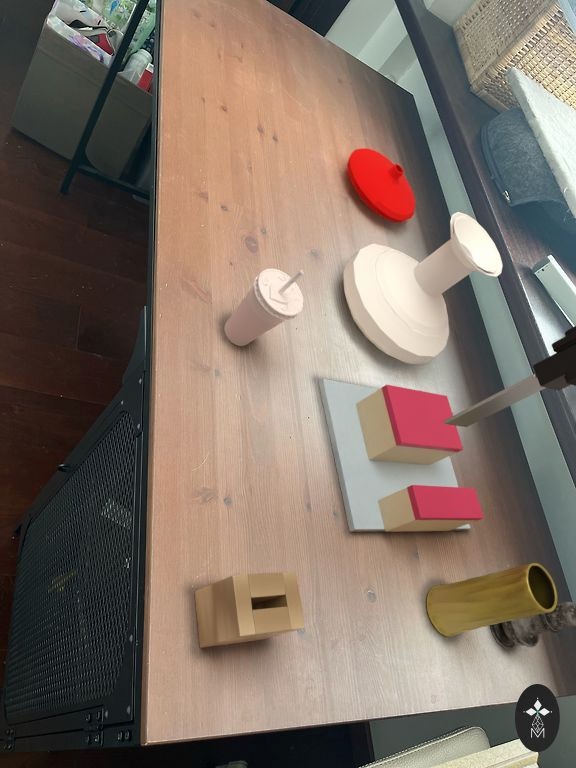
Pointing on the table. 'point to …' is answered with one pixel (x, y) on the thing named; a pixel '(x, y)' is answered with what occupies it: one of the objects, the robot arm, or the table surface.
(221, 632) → the knife block
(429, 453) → the cake
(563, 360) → the knife
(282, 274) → the smoothie
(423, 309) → the candle holder
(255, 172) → the table surface
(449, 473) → the cake plate
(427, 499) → the cake slice
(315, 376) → the table surface
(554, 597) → the vase
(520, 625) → the salt shaker
